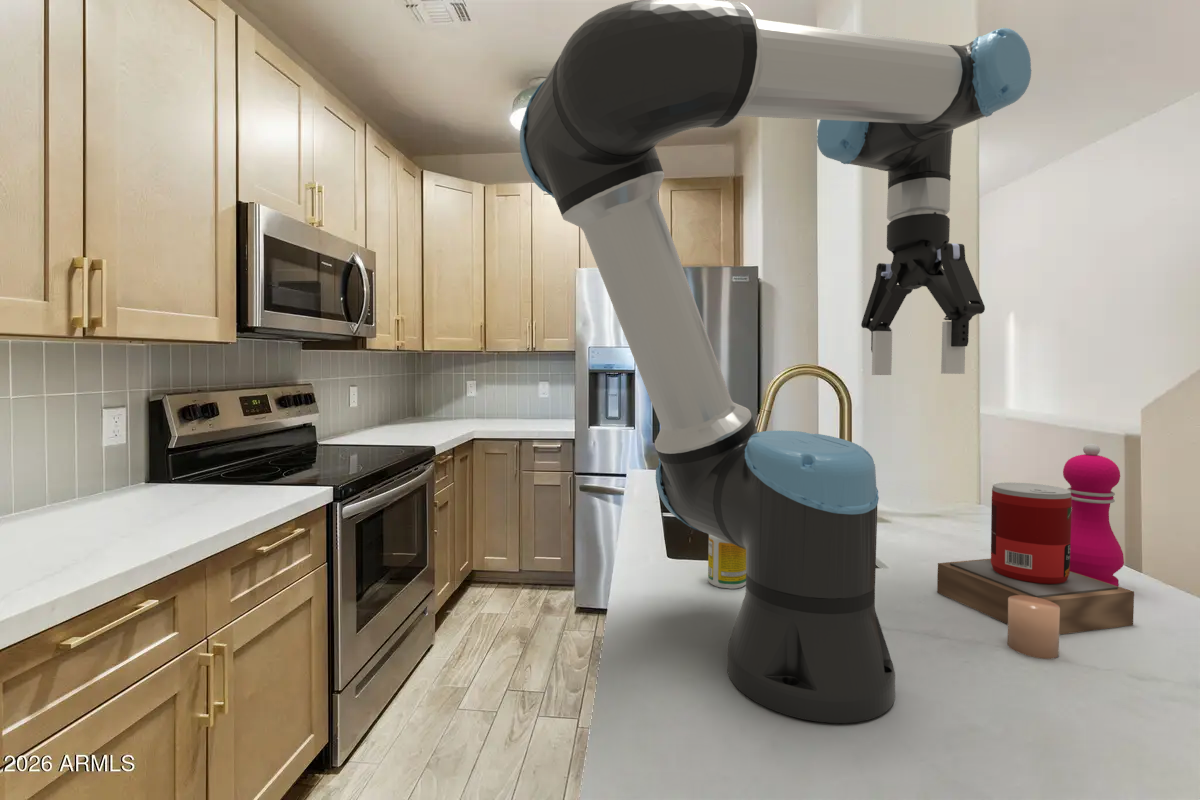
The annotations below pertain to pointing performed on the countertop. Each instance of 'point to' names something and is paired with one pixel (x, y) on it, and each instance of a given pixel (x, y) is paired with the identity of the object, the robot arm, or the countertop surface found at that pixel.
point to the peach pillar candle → (1033, 626)
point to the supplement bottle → (726, 564)
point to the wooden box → (1038, 595)
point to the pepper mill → (1093, 515)
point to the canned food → (1031, 532)
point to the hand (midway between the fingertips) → (914, 374)
